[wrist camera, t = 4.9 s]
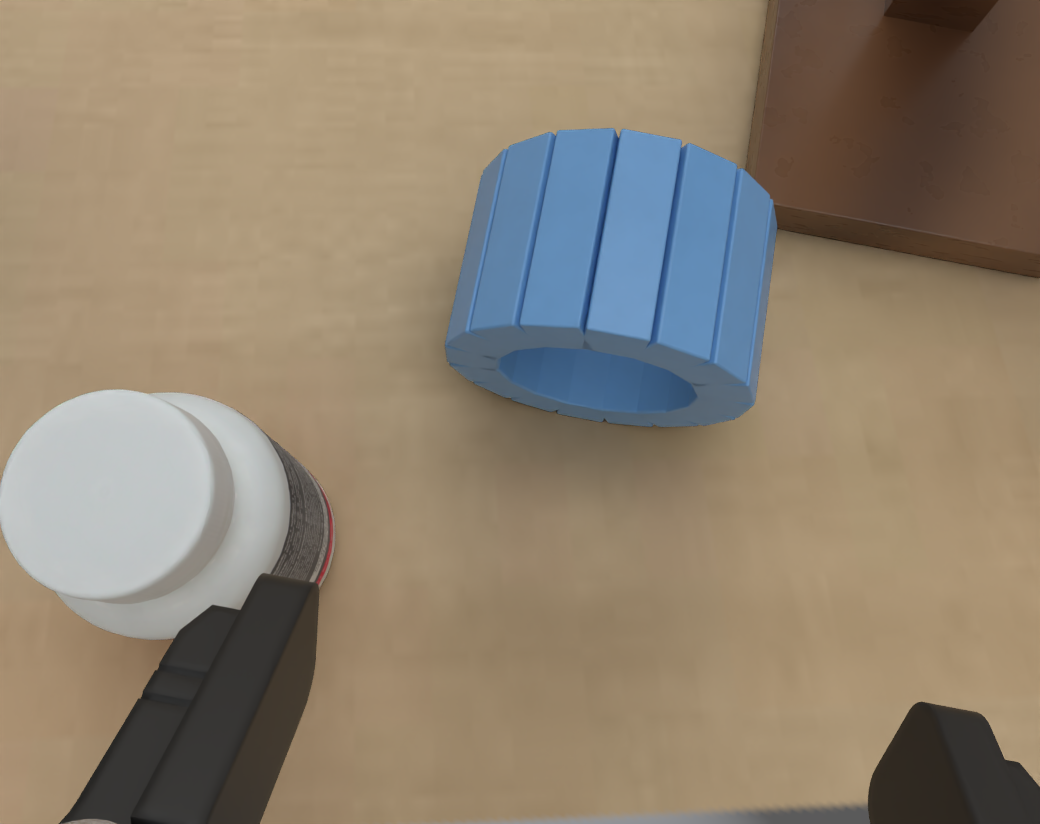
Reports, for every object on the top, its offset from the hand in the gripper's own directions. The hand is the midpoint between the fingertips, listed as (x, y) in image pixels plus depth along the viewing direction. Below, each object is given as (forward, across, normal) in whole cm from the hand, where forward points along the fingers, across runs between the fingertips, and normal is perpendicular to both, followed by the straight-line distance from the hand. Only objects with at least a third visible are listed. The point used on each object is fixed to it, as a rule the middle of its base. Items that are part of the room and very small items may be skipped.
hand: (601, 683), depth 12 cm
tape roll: (+17, 0, +3) cm, 17 cm away
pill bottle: (+11, +9, +9) cm, 17 cm away
